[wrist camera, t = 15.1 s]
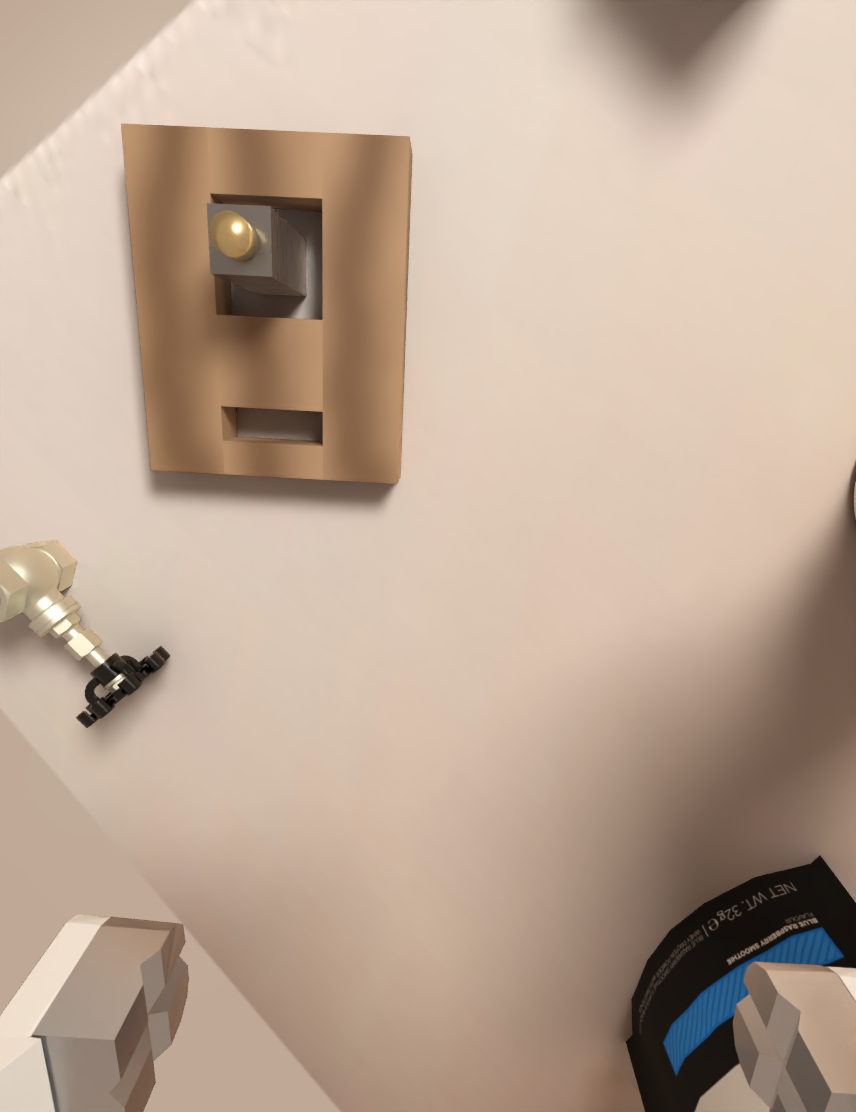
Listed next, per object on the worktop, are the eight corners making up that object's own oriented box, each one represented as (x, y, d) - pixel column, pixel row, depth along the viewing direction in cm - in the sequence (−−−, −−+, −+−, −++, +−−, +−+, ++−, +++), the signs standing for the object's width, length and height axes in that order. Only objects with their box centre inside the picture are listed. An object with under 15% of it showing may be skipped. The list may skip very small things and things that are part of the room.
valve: (-2, 568, 41) (123, 691, 43) (-85, 603, 34) (67, 745, 37) (61, 511, 39) (186, 642, 42) (-13, 537, 33) (139, 688, 36)
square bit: (305, 240, 34) (260, 196, 26) (306, 296, 35) (262, 271, 27) (254, 237, 34) (193, 193, 26) (256, 293, 35) (197, 268, 27)
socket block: (412, 154, 33) (409, 136, 30) (400, 477, 38) (397, 484, 35) (144, 142, 33) (120, 123, 30) (169, 464, 38) (151, 469, 36)
